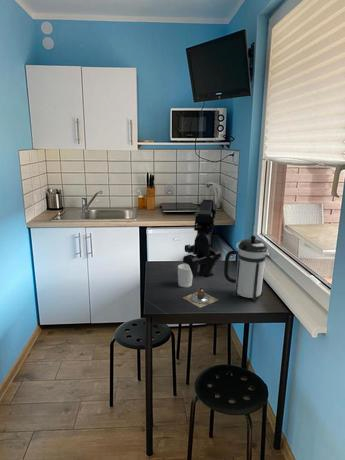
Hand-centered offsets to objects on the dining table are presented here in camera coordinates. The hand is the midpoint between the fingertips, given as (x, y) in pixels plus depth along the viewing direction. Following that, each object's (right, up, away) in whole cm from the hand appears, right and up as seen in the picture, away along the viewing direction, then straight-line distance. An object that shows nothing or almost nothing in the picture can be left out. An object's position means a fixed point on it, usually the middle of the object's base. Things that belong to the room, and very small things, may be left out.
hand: (201, 274), depth 149 cm
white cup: (-7, -8, +18) cm, 21 cm away
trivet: (0, -12, +3) cm, 13 cm away
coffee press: (+21, -11, +9) cm, 26 cm away
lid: (0, -12, +3) cm, 12 cm away
